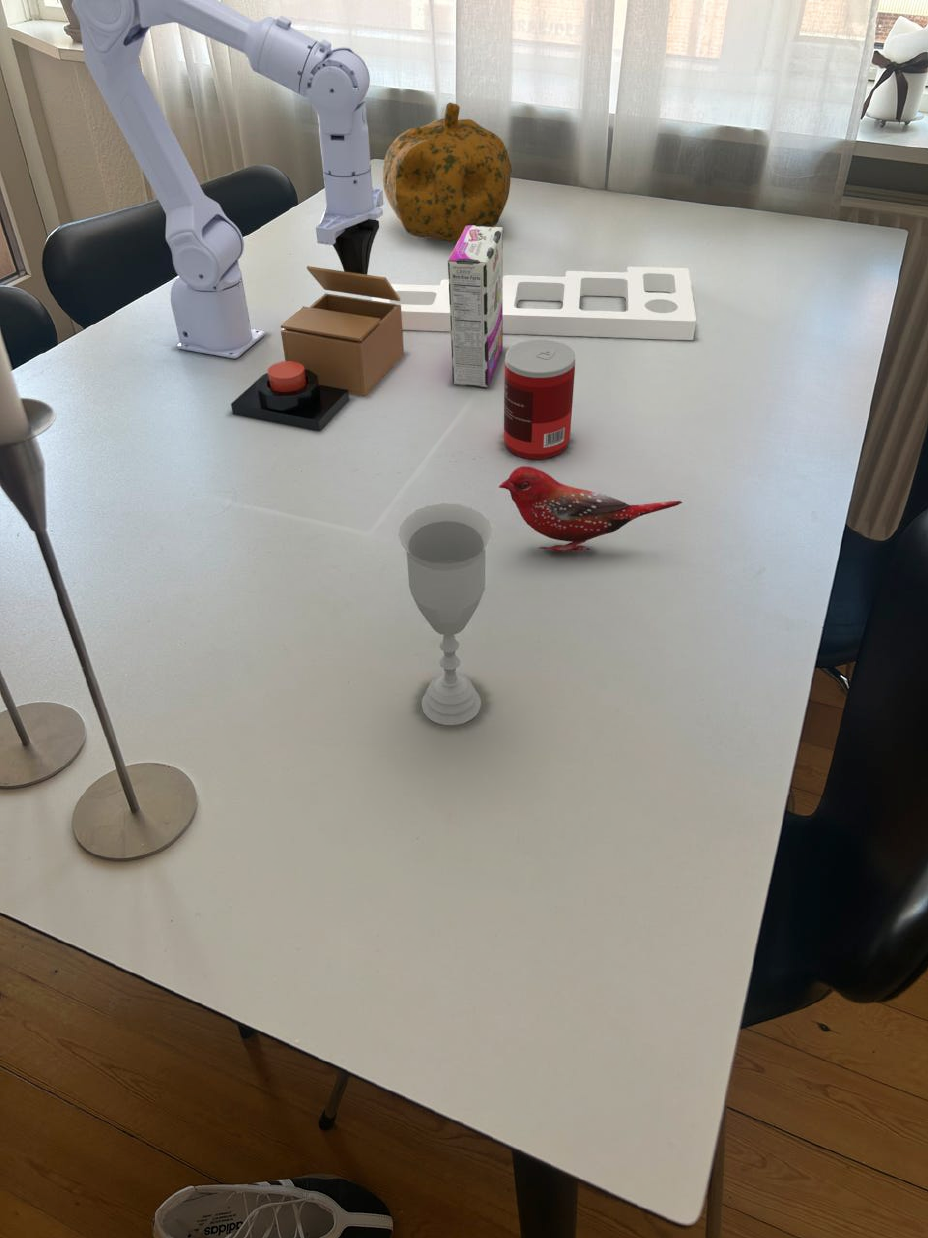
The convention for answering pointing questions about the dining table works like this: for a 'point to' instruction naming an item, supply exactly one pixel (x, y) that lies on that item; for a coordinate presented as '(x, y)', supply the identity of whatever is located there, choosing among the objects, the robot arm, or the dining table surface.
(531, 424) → the canned food
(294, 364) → the button
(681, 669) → the dining table surface
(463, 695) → the chalice
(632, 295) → the holder
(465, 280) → the candy bar box
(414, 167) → the decorative pumpkin
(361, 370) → the carton
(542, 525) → the decorative bird figurine
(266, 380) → the block
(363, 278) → the flap
